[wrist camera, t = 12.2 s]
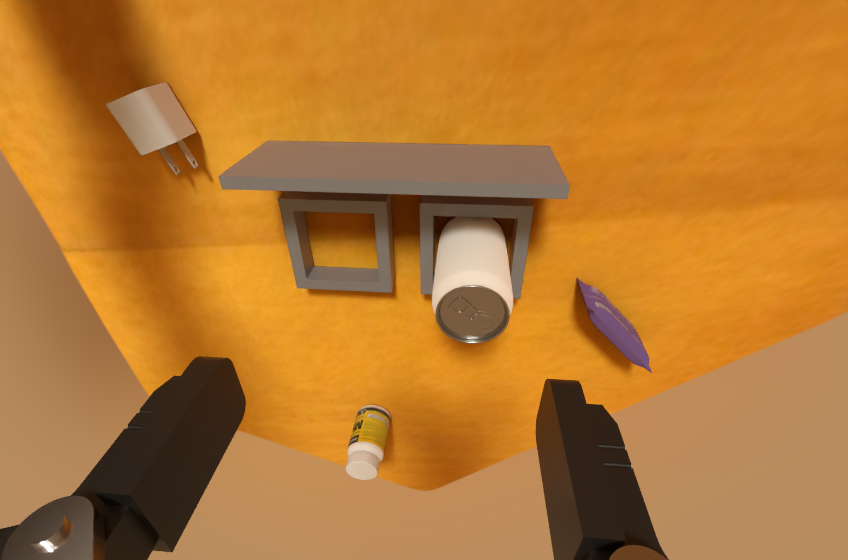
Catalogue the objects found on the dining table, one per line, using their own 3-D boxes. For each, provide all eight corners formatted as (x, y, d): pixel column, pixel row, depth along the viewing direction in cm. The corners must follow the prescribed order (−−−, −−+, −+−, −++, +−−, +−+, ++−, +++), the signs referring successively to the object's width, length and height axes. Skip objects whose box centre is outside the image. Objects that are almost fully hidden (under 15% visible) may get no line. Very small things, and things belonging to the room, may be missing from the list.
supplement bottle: (362, 399, 57) (347, 455, 50) (395, 409, 57) (385, 466, 51) (354, 419, 60) (338, 476, 53) (385, 429, 60) (374, 486, 53)
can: (476, 278, 44) (477, 360, 34) (426, 244, 43) (413, 320, 33) (518, 236, 41) (533, 312, 31) (467, 197, 39) (466, 265, 30)
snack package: (568, 282, 44) (578, 312, 40) (584, 271, 43) (596, 301, 39) (629, 345, 48) (643, 378, 43) (645, 336, 47) (661, 369, 43)
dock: (296, 274, 46) (262, 328, 39) (267, 140, 38) (218, 175, 31) (527, 285, 44) (538, 343, 37) (549, 146, 36) (569, 185, 29)
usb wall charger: (170, 80, 36) (139, 89, 33) (216, 157, 40) (193, 171, 36) (134, 96, 37) (101, 106, 34) (182, 169, 41) (157, 185, 37)
